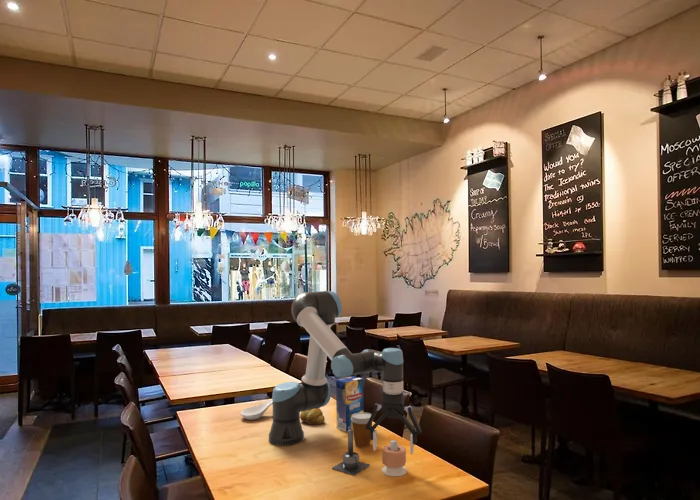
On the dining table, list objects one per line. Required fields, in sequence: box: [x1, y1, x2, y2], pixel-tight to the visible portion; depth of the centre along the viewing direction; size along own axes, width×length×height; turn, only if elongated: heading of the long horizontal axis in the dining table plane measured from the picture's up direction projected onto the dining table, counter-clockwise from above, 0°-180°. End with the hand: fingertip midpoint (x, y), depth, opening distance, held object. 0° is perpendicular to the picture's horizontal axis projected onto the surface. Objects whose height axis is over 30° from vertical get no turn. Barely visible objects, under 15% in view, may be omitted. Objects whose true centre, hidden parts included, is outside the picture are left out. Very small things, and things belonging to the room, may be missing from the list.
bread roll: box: [300, 408, 325, 425], centre depth 225 cm, size 13×10×8 cm
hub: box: [381, 439, 408, 478], centre depth 169 cm, size 9×9×10 cm
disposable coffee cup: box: [351, 412, 374, 448], centre depth 195 cm, size 10×10×12 cm
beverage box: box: [335, 375, 365, 433], centre depth 217 cm, size 7×11×22 cm, turn 133°
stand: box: [331, 429, 371, 476], centre depth 173 cm, size 10×10×14 cm
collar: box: [381, 444, 407, 468], centre depth 169 cm, size 8×8×5 cm
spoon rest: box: [240, 399, 273, 421], centre depth 236 cm, size 24×12×7 cm, turn 124°
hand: (393, 451), depth 169 cm, fingers open, 13 cm apart
